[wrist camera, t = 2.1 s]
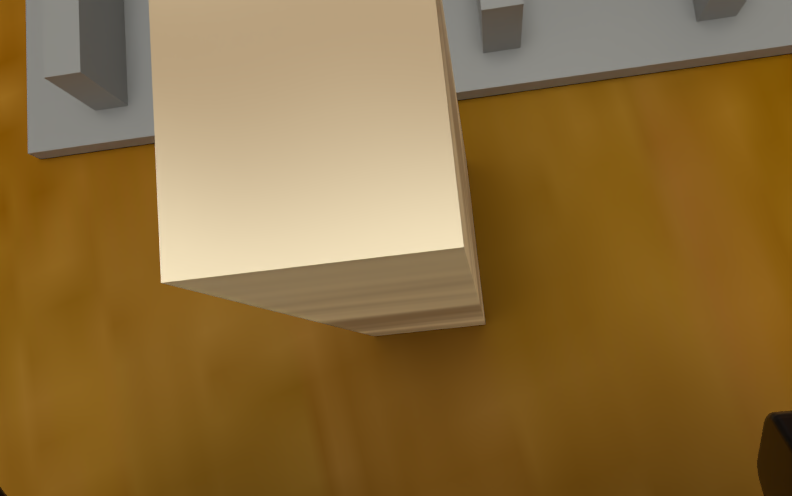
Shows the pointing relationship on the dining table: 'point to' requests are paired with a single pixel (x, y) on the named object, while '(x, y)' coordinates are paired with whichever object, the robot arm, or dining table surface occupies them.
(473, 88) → the slotted rack
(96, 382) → the dining table surface
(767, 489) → the robot arm
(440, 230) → the birch block
